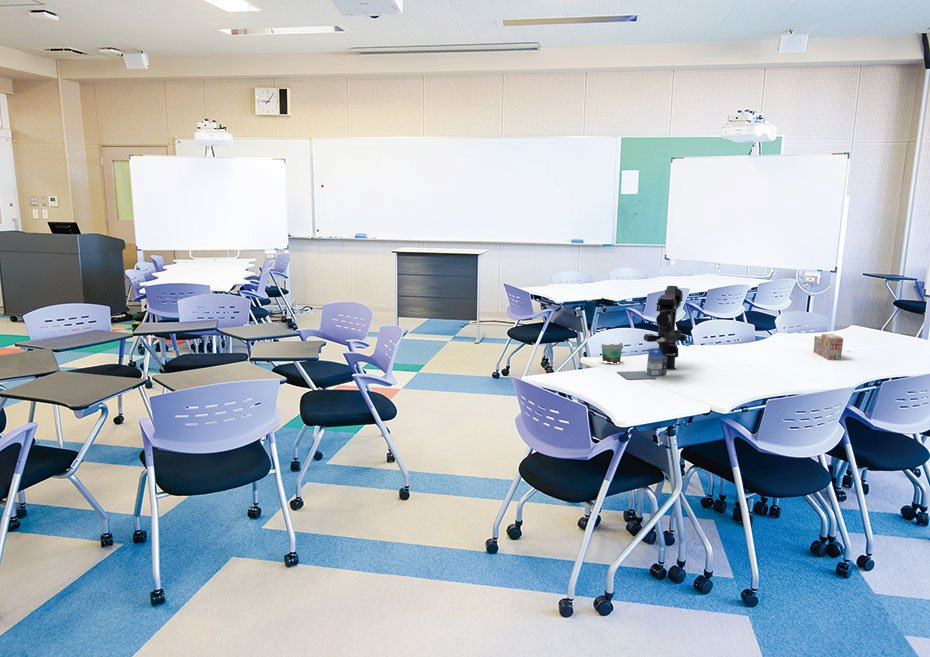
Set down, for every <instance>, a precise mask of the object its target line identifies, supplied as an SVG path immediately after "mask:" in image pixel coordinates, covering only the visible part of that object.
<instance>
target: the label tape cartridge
mask: <svg viewBox="0 0 930 657" xmlns="http://www.w3.org/2000/svg"><path fill="white" fill-rule="evenodd" d="M647 354H648V355H647V364H646V365H647V366H646V372H647V373H646V374H648V375H650V376H654V377H655V376H667V372H668V371H667V370H668V369H667V361H668V358H667V357H666V356H664V355H663V354H662V351H661V349H660V348H659V347H658V348H656V347H655V348H648V353H647Z"/></svg>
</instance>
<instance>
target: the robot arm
mask: <svg viewBox="0 0 930 657" xmlns="http://www.w3.org/2000/svg"><path fill="white" fill-rule="evenodd" d="M683 297H684V294H683V291H682V290H681V289H680V288H679V286H677V285H668V286H666V289H665V290H664V294H662V295H660V296H659V298H658V299H657V304H656V310H655V311H656V312H659V314H658V315H657V316H656V318H655V322H656V323H657V326H658V332H657V335H656V334H653V333H645V334H644V335H643V341H646V342H647V343H655V342H656V343H657V344H658V348H660V349H661V351H662V354H663V355H664V356H666V357H667V358H668V361H667V370H677V368H676V367H675V366H676V365H675V364H676V358H679V348H678V345H677V342H676V341H677V340H678V341H679V342H686V341H687V335H686V334H683V333H681V330H680V329H676V319H677V311H678V310H679V308H680V307H681V304H682V302H683V299H684V298H683Z"/></svg>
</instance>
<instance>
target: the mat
mask: <svg viewBox="0 0 930 657" xmlns="http://www.w3.org/2000/svg"><path fill="white" fill-rule="evenodd" d="M616 373H617V374H618V375H619V374H620V376H621V377H622V378H623V379H625V380H627V381H633V380H635V381H636V380H640V381H641V380H657V377H656V376H655V375H654V376H650V375H648V374H646V373H647V371H645V370H642V371H641V370H639V371H637V370H636V371H635V370H633V371H631V370H630V371H627V370H626V371H616Z"/></svg>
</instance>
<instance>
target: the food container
mask: <svg viewBox="0 0 930 657" xmlns="http://www.w3.org/2000/svg"><path fill="white" fill-rule="evenodd" d="M600 349H601V352H602V353H601V354H602V362H603V361H607V362H613V363H617V362H620V363H621V356H622V351H623V350H622V349H624V345H623V343H622V342H619V344H613V343H612V344H604V343H602V344H601V346H600Z"/></svg>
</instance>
